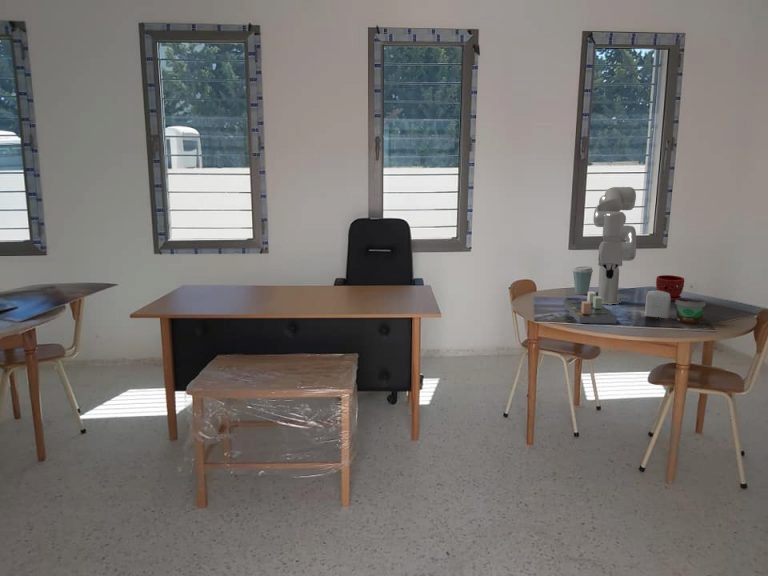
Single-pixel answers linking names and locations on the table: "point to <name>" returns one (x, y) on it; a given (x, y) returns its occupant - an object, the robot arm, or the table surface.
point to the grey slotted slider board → (595, 314)
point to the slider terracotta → (585, 307)
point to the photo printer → (658, 304)
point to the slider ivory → (590, 296)
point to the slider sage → (597, 302)
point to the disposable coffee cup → (582, 279)
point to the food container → (689, 311)
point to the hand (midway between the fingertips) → (609, 278)
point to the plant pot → (670, 285)
